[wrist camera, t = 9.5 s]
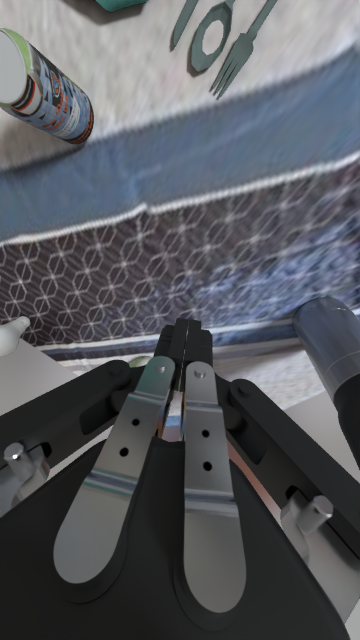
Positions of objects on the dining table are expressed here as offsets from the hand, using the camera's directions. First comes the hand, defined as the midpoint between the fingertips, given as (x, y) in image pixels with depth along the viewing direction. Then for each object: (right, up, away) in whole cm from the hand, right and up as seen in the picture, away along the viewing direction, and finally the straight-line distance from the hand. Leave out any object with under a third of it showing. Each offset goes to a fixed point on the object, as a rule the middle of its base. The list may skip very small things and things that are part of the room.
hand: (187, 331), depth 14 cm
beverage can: (-15, +28, +16) cm, 36 cm away
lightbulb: (-34, +1, +37) cm, 50 cm away
